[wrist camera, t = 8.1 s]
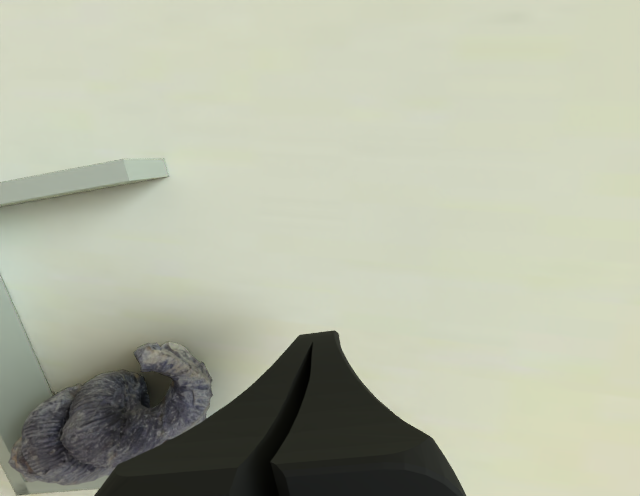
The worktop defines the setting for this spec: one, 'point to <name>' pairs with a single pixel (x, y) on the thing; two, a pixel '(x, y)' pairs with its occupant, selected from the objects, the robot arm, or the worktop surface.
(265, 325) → the worktop surface
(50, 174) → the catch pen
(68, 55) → the worktop surface
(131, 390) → the seashell
